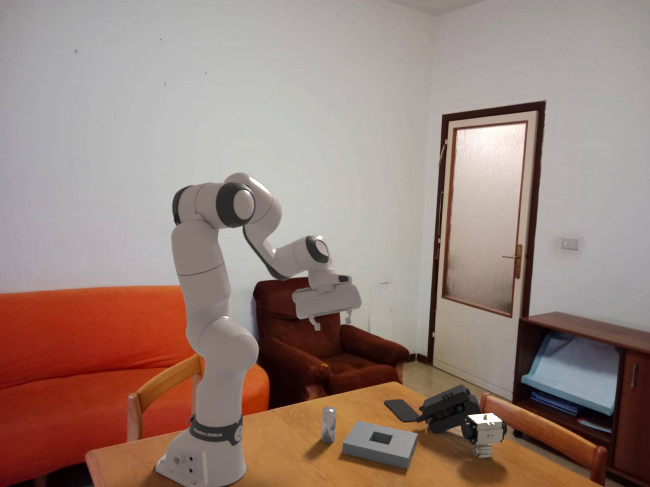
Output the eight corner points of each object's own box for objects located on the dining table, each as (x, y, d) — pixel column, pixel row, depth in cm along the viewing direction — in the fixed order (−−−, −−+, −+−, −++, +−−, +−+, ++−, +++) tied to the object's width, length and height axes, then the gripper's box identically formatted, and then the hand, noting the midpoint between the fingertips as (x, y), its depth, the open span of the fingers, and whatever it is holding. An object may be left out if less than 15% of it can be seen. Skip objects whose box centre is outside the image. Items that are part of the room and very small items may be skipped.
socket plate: (342, 453, 130) (342, 442, 130) (356, 430, 144) (357, 420, 143) (407, 469, 124) (408, 458, 124) (416, 443, 137) (417, 433, 137)
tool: (492, 433, 139) (469, 387, 139) (431, 455, 144) (409, 411, 144) (489, 423, 145) (467, 379, 145) (431, 445, 150) (410, 402, 150)
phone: (402, 421, 150) (382, 400, 164) (402, 424, 150) (382, 402, 164) (423, 419, 152) (402, 398, 166) (423, 421, 152) (402, 400, 166)
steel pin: (318, 441, 136) (320, 411, 135) (323, 434, 140) (325, 405, 139) (332, 444, 135) (333, 414, 134) (336, 437, 138) (338, 408, 137)
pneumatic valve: (458, 453, 133) (461, 412, 132) (495, 449, 136) (498, 408, 135) (469, 464, 128) (472, 421, 127) (507, 459, 131) (511, 418, 130)
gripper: (291, 286, 145) (299, 330, 139) (356, 275, 148) (367, 317, 142) (291, 294, 150) (299, 336, 144) (353, 283, 153) (364, 324, 147)
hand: (333, 326), depth 143 cm, fingers open, 8 cm apart
